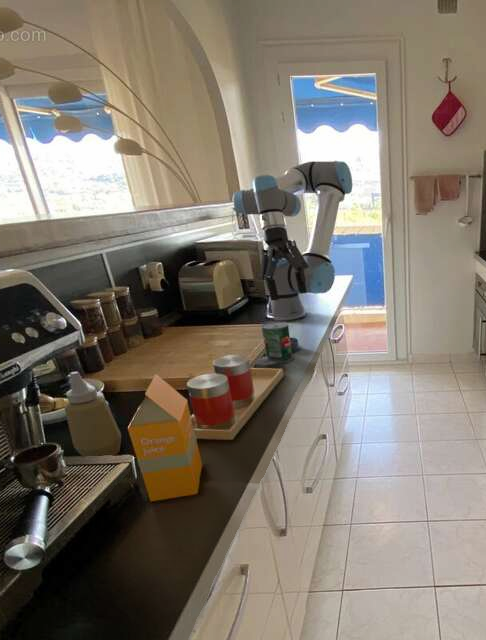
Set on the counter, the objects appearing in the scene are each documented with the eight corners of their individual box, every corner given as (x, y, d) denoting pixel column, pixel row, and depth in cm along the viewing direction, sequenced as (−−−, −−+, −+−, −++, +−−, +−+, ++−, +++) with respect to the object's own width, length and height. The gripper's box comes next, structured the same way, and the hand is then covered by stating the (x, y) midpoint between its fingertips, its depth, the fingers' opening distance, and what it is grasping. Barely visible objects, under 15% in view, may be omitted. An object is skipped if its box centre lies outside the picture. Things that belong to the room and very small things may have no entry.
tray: (243, 375, 127) (242, 367, 126) (283, 376, 126) (282, 368, 125) (179, 439, 95) (176, 429, 94) (232, 441, 95) (230, 431, 94)
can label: (229, 394, 114) (221, 354, 110) (260, 395, 114) (254, 355, 109) (215, 409, 107) (206, 366, 102) (248, 410, 107) (240, 367, 102)
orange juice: (149, 501, 77) (116, 397, 68) (159, 473, 84) (131, 375, 76) (198, 493, 79) (172, 391, 70) (203, 466, 86) (181, 370, 78)
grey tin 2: (281, 345, 150) (279, 337, 149) (301, 346, 150) (300, 337, 149) (274, 352, 144) (273, 343, 143) (295, 353, 144) (294, 344, 142)
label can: (207, 416, 104) (198, 372, 99) (241, 417, 103) (233, 373, 98) (190, 434, 96) (179, 388, 92) (227, 435, 96) (217, 389, 91)
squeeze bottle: (69, 463, 87) (35, 379, 79) (103, 442, 94) (75, 363, 86) (103, 469, 85) (72, 383, 78) (135, 447, 93) (110, 366, 85)
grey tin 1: (262, 365, 134) (260, 355, 133) (284, 365, 134) (283, 356, 133) (253, 374, 128) (252, 364, 127) (277, 374, 128) (276, 365, 126)
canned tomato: (263, 357, 141) (258, 323, 136) (288, 353, 144) (284, 319, 139) (269, 365, 134) (264, 330, 129) (295, 360, 137) (291, 326, 133)
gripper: (240, 237, 146) (255, 303, 150) (292, 217, 131) (306, 290, 135) (259, 238, 152) (272, 301, 156) (310, 219, 137) (324, 289, 141)
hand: (288, 296), depth 145 cm, fingers open, 13 cm apart
